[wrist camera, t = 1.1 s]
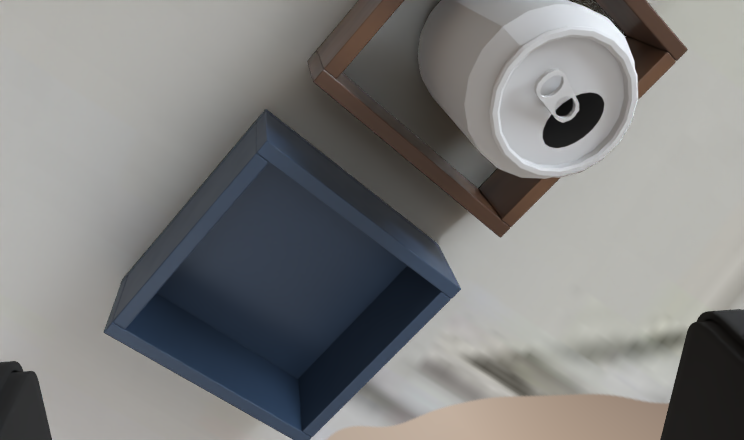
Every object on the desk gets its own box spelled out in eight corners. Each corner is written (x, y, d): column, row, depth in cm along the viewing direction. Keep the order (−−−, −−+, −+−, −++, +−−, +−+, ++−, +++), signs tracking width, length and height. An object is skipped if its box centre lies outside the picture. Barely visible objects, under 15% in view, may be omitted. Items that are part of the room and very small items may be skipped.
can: (465, 138, 40) (540, 227, 30) (386, 39, 37) (438, 99, 27) (570, 54, 39) (687, 114, 28) (497, -56, 36) (598, -34, 25)
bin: (265, 108, 38) (267, 140, 33) (438, 244, 43) (461, 289, 38) (121, 280, 41) (102, 332, 36) (299, 387, 46) (303, 446, 41)
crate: (484, -150, 34) (514, -156, 30) (644, 33, 39) (688, 49, 35) (307, 61, 37) (312, 81, 33) (477, 205, 42) (500, 238, 38)
